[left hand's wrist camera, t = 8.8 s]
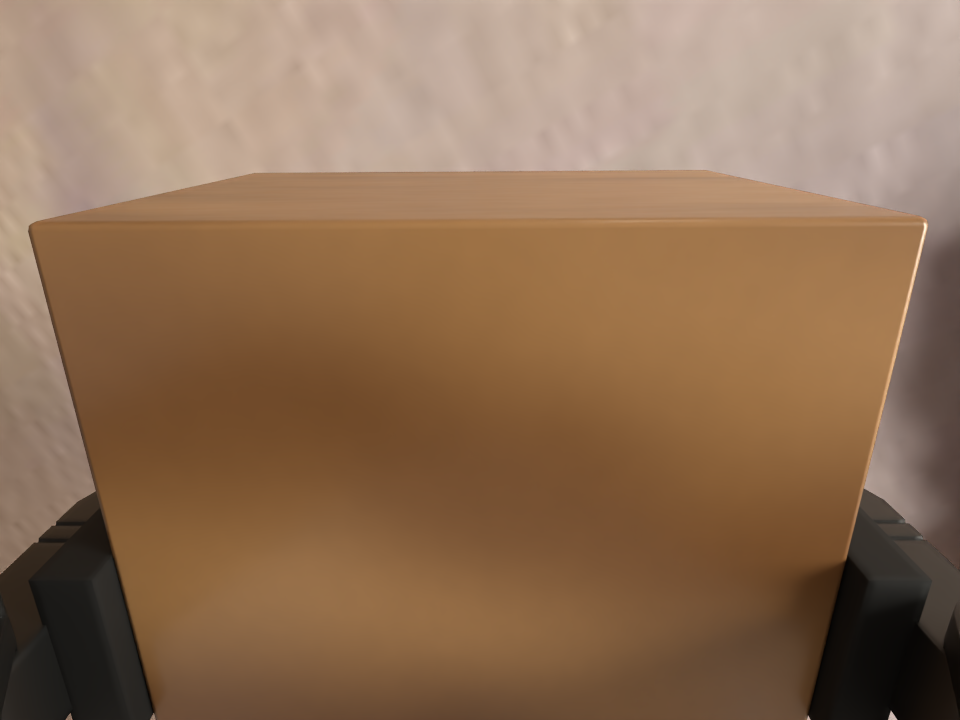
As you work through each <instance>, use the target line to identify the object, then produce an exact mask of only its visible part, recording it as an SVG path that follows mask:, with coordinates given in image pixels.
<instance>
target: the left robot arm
mask: <svg viewBox="0 0 960 720" xmlns="http://www.w3.org/2000/svg"><path fill="white" fill-rule="evenodd" d="M891 711H892V712H893V714H894V715H895V717H896V718H897V720H960V571H959V570H958V569H957V568H956V567H955V566H954V565H953V564H952V563H951V562H949V561H948V560H947V559H946V558H945V557H944V556H943V555H942V554H941V553H940V552H939V551H938V550H937V549H936V548H935V547H933V546H932V545H931V544H930V543H929V542H928V541H923V536H922V535H921V534H920V533H919V532H918V531H916V530H915V529H914V528H913V527H912V526H911V525H910V524H906V523H905V519H904V518H903V517H902V516H901V515H899V514H898V513H897V512H896V511H895V510H894V509H893V508H892V507H891V506H890V505H889V504H888V503H887V502H886V501H885V500H883V499H881V498H880V497H878V496H876V495H874V494H872V493H871V492H869V491H867V490H865V489H863V493H862V497H861V501H860V505H859V509H858V513H857V517H856V522H855V526H854V530H853V534H852V538H851V542H850V546H849V550H848V554H847V558H846V562H845V566H844V570H843V574H842V579H841V583H840V587H839V591H838V595H837V599H836V603H835V607H834V611H833V615H832V619H831V623H830V627H829V632H828V636H827V640H826V644H825V648H824V652H823V656H822V660H821V664H820V668H819V672H818V676H817V680H816V684H815V689H814V693H813V697H812V701H811V705H810V709H809V713H808V716H809V717H810V719H811V720H888V718H889V715H890V712H891ZM70 713H71V716H72V719H73V720H150V718H151V717H152V715H153V713H154V711H153V707H152V703H151V699H150V696H149V692H148V688H147V684H146V680H145V676H144V673H143V669H142V665H141V661H140V657H139V653H138V650H137V646H136V642H135V638H134V634H133V630H132V627H131V623H130V619H129V615H128V611H127V608H126V604H125V600H124V596H123V592H122V588H121V585H120V581H119V577H118V573H117V569H116V565H115V562H114V558H113V554H112V550H111V546H110V542H109V539H108V535H107V531H106V527H105V523H104V519H103V516H102V512H101V508H100V504H99V500H98V497H97V493H96V492H94V493H92V494H91V495H89V496H87V497H85V498H84V499H82V500H80V501H78V502H77V503H76V504H75V505H74V506H73V507H72V508H70V509H69V510H68V511H67V512H66V513H65V514H64V515H63V516H62V517H61V518H60V519H59V520H58V521H57V522H56V526H51V527H50V528H49V529H48V530H47V531H46V532H45V533H44V534H43V535H42V536H41V537H40V538H39V542H38V543H33V544H32V545H31V546H30V547H29V548H28V549H27V550H26V551H25V552H24V553H23V554H22V555H21V556H20V557H19V558H18V559H17V560H16V561H14V562H13V563H12V564H11V565H10V566H9V567H8V568H7V569H6V570H5V571H4V572H3V573H2V574H1V575H0V720H65V719H66V718H67V717H68V715H69V714H70Z"/></svg>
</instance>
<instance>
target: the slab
mask: <svg viewBox="0 0 960 720" xmlns="http://www.w3.org/2000/svg"><path fill="white" fill-rule="evenodd" d="M927 228H928V223H927V220H926V219H925V218H923V217H920V216H917V215H912V214H908V213H903V212H898V211H894V210H889V209H884V208H879V207H875V206H870V205H865V204H861V203H856V202H851V201H847V200H842V199H837V198H833V197H828V196H823V195H819V194H814V193H809V192H805V191H800V190H795V189H791V188H786V187H781V186H777V185H772V184H767V183H763V182H758V181H753V180H749V179H744V178H739V177H735V176H730V175H725V174H721V173H716V172H711V171H707V170H657V171H503V172H349V173H253V174H248V175H244V176H239V177H235V178H230V179H226V180H221V181H217V182H212V183H208V184H203V185H199V186H194V187H190V188H185V189H181V190H176V191H172V192H167V193H163V194H158V195H154V196H149V197H144V198H140V199H135V200H131V201H126V202H122V203H117V204H113V205H108V206H104V207H99V208H95V209H90V210H86V211H81V212H77V213H72V214H68V215H63V216H59V217H54V218H50V219H45V220H41V221H36V222H34V223H32V224H31V225H30V226H29V230H28V232H29V236H30V240H31V244H32V248H33V252H34V255H35V259H36V263H37V267H38V271H39V275H40V278H41V282H42V286H43V290H44V294H45V298H46V301H47V305H48V309H49V313H50V317H51V320H52V324H53V328H54V332H55V336H56V340H57V343H58V347H59V351H60V355H61V359H62V363H63V366H64V370H65V374H66V378H67V382H68V386H69V389H70V393H71V397H72V401H73V405H74V409H75V412H76V416H77V420H78V424H79V428H80V431H81V435H82V439H83V443H84V447H85V451H86V454H87V458H88V462H89V466H90V470H91V474H92V477H93V481H94V485H95V489H96V493H97V497H98V500H99V504H100V508H101V512H102V516H103V519H104V523H105V527H106V531H107V535H108V539H109V542H110V546H111V550H112V554H113V558H114V562H115V565H116V569H117V573H118V577H119V581H120V585H121V588H122V592H123V596H124V600H125V604H126V608H127V611H128V615H129V619H130V623H131V627H132V630H133V634H134V638H135V642H136V646H137V650H138V653H139V657H140V661H141V665H142V669H143V673H144V676H145V680H146V684H147V688H148V692H149V696H150V699H151V703H152V707H153V711H154V715H155V719H156V720H807V717H808V713H809V709H810V705H811V701H812V697H813V693H814V689H815V684H816V680H817V676H818V672H819V668H820V664H821V660H822V656H823V652H824V648H825V644H826V640H827V636H828V632H829V627H830V623H831V619H832V615H833V611H834V607H835V603H836V599H837V595H838V591H839V587H840V583H841V579H842V574H843V570H844V566H845V562H846V558H847V554H848V550H849V546H850V542H851V538H852V534H853V530H854V526H855V522H856V517H857V513H858V509H859V505H860V501H861V497H862V493H863V489H864V485H865V481H866V477H867V473H868V469H869V464H870V460H871V456H872V452H873V448H874V444H875V440H876V436H877V432H878V428H879V424H880V420H881V416H882V412H883V407H884V403H885V399H886V395H887V391H888V387H889V383H890V379H891V375H892V371H893V367H894V363H895V359H896V354H897V350H898V346H899V342H900V338H901V334H902V330H903V326H904V322H905V318H906V314H907V310H908V306H909V302H910V297H911V293H912V289H913V285H914V281H915V277H916V273H917V269H918V265H919V261H920V257H921V253H922V249H923V244H924V240H925V236H926V232H927Z"/></svg>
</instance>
